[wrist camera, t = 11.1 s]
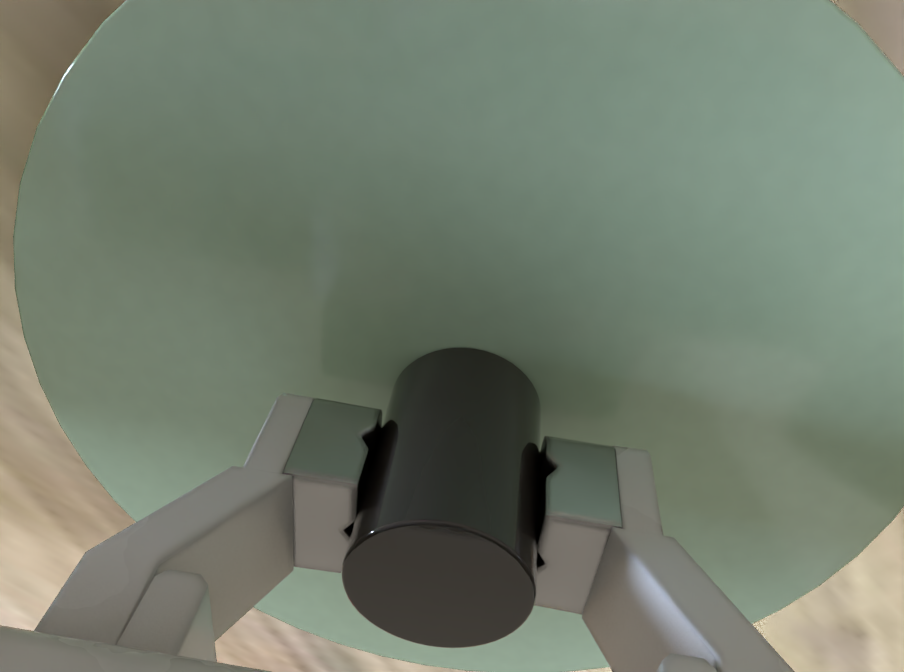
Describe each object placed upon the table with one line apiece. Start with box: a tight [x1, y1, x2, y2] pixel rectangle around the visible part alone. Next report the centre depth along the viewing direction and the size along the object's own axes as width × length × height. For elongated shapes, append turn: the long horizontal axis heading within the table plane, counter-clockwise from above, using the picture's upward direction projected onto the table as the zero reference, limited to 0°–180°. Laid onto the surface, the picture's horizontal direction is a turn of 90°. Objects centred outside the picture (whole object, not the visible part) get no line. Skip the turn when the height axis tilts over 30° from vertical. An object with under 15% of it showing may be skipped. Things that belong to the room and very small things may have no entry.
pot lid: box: [13, 0, 904, 672], centre depth 11 cm, size 15×15×5 cm
